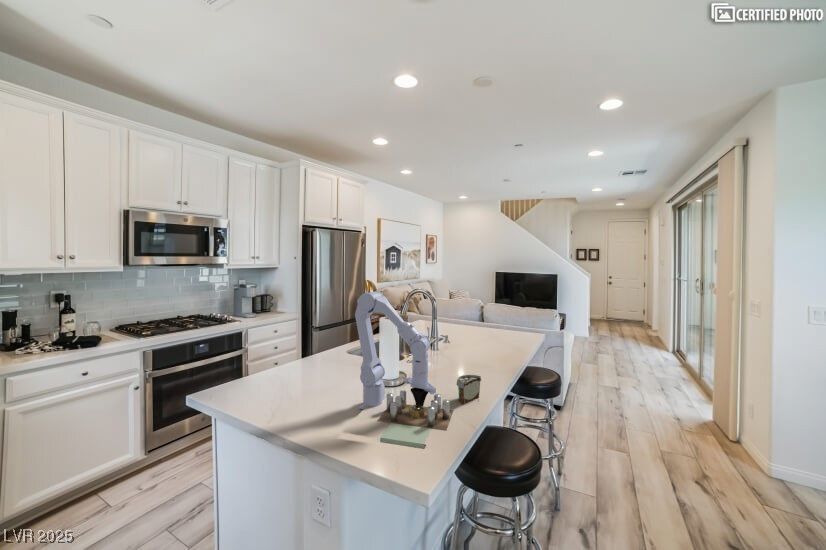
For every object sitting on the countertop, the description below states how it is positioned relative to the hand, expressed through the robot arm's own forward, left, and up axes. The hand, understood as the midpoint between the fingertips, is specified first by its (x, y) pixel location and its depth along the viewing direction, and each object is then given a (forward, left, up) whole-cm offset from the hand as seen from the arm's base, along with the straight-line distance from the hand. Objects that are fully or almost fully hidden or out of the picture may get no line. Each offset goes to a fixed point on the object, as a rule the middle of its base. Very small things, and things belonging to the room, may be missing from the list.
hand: (419, 407), depth 129 cm
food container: (-15, +15, -3) cm, 22 cm away
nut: (+4, 0, -1) cm, 4 cm away
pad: (+18, 0, -2) cm, 18 cm away
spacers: (+5, 0, -1) cm, 5 cm away
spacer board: (+5, 0, -2) cm, 5 cm away
